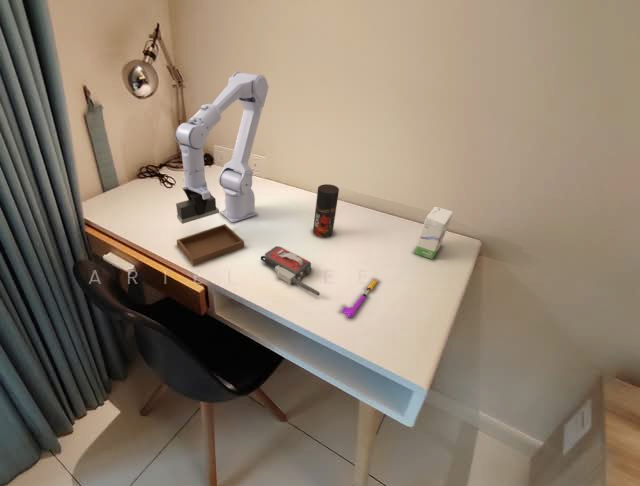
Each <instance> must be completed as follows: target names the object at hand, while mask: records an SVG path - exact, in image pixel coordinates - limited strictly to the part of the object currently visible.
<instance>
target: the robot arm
mask: <svg viewBox="0 0 640 486" xmlns="http://www.w3.org/2000/svg"><path fill="white" fill-rule="evenodd" d="M269 88H270V87H269V84H268V81H267V78H266V76H265V75H264V74H255V73H246V72H241V71H235V72H233V74H232V75H231V76H230V77H228V81H227V85H226V86H225V87H224V88H223V90H222V91H221V92H220V93H219V95H218V96H217V97H216V98H215V99H214V101H213V102H212V103H206V104H202V105H201V106H200V109H199V110H198V111H197V112H196V113H195V114H194V115H193V116H192V117H191V118H189V120H188V121H187V122H182V123H180V125H178V127H176V130H175V135H174V140H175V141H176V143H177V144H178V146H179V150H180V152H181V161H182V167H183V174H182V176H181V177H182V181H183V184H181V186H180V187H181V188H182V190H183V192H184V193H185V196H186V197H187V200H191V199H192V200H193V202H194V205H195V209H196V212H197V215H198V216H199V215H202V214H205V209H206V204H207V201H208V199H209V198H210V196H211V195H212V194H211V191H210V190H209V187H208V183H207V181H206V170H205V160H204V159H205V158H204V146H205V145H206V143H207V139H208V137H209V135H210V132H212V130H213V129H214V128H215V127H216V126H217V125H218V124H219V123H220V122H221V120H222V114H223V113H224V112H225V111H226V110H227V109H228V108H229V107H231V106H232V105H233V104H234V103H235V102H236V101H238V102H239V103H240V104H241V106H242V108H243V113H242V116H241V120H240V123H239V129H238V132H237V137H236V140H235V144H234V148H233V152H232V156H231V159H230V160H229V161H227V162H225V163H224V164H223V168H222V170H221V172H220V173H219V176H218V183H219V185H220V186H221V187H222V191H224V203H225V205H224V207H225V210H221V211H220V214H222V216H224V217H225V218H226V220H228V221H230V222H231V223H235V222H239V221H242V220H245V219H248V218H251V217H254V216H257V213H256V211H255V210H256V206H255V205H256V203H255V202H256V198H255V197H256V196H255V193H254V190H253V189H252V186H253V175H254V171H253V170H252V168H251V166H250V165H249V161H250V158H251V153H252V149H253V146H254V142H255V139H256V135H257V130H258V127H259V123H260V119H261V115H262V112H263V108H264V106H265V103H266V99H267V96H268V90H269Z"/></svg>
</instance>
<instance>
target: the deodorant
mask: <svg viewBox="0 0 640 486" xmlns="http://www.w3.org/2000/svg"><path fill="white" fill-rule="evenodd" d="M339 193H340V188H339V187H338V186H337V185H334V184H329V183H327V184H320V185H318V187H317V193H316V201H315V202H316V203H315V209H314V210H315V211H314V220H313V229H312V233H313V235H315V237H318V238H321V239H322V238H323V239H326V238H327V239H328V238H331V237H332V236H333V234H334V226H335V219H336V214H337V213H336V212H337V207H338V200H339Z"/></svg>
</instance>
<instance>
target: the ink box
mask: <svg viewBox="0 0 640 486" xmlns="http://www.w3.org/2000/svg"><path fill="white" fill-rule="evenodd" d="M453 214H454V212H453V211H452V210H448V209H446V208H443V207H439V206H434V207H433V208H432V209H431V210H430V212H429V213H428V214H427V215H426V217H425V220H424V223H423V224H422V229H421V231H420V235H419V237H418V238H419V239H418V241H417V245H416V247H415V251H414V254H416V255H417V256H422V257H424V258H427V259H430V260H433V259H434V257H435V256H436V254H437V252H438V251H439V250H440V247H442V243H443V240H444V238H445V235H446V232H447V229H448V227H449V224H450V222H451V219H452V217H453Z"/></svg>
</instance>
